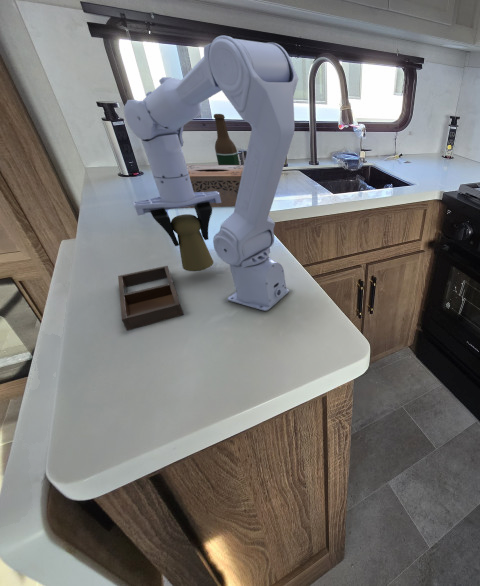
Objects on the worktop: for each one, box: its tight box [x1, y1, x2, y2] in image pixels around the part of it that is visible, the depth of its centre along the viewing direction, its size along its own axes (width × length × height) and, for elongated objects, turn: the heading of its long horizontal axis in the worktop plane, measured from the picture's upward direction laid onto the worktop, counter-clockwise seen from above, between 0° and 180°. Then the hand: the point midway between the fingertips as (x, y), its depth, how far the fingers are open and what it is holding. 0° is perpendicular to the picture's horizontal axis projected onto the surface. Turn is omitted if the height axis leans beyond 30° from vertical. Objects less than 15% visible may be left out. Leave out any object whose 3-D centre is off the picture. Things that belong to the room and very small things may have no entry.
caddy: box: [117, 265, 184, 331], centre depth 65 cm, size 17×9×2 cm, turn 36°
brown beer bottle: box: [213, 113, 241, 165], centre depth 127 cm, size 8×8×24 cm
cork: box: [170, 213, 215, 272], centre depth 69 cm, size 6×6×11 cm
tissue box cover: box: [181, 164, 244, 209], centre depth 113 cm, size 26×14×10 cm, turn 104°
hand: (191, 241), depth 69 cm, fingers closed on cork, 5 cm apart
